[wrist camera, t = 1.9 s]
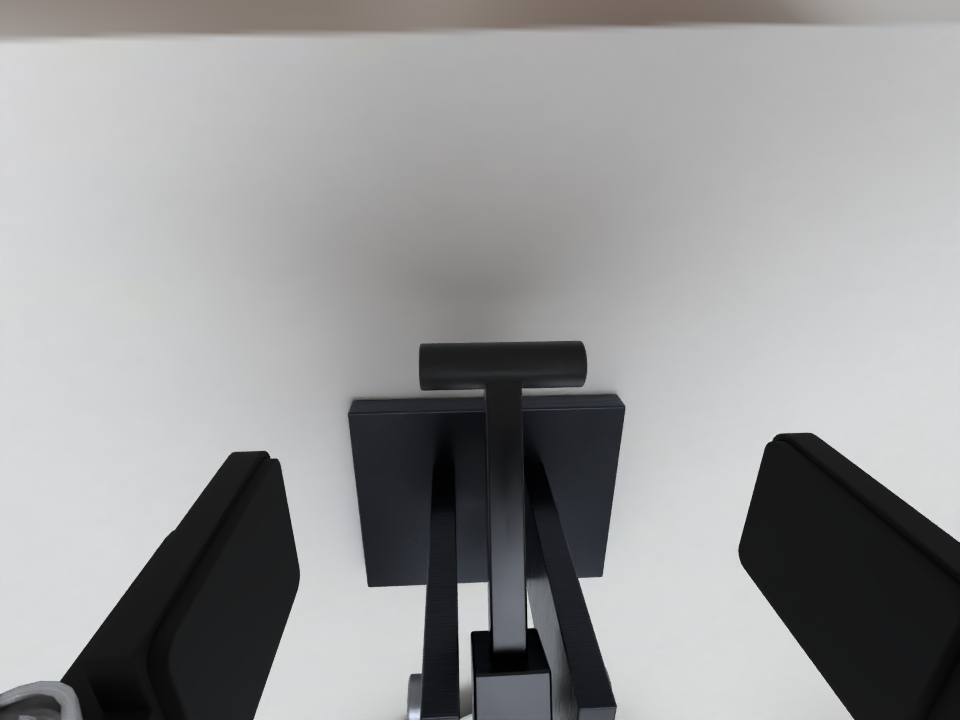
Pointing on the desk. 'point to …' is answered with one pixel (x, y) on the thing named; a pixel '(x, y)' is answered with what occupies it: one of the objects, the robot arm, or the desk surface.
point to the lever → (505, 511)
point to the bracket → (463, 530)
